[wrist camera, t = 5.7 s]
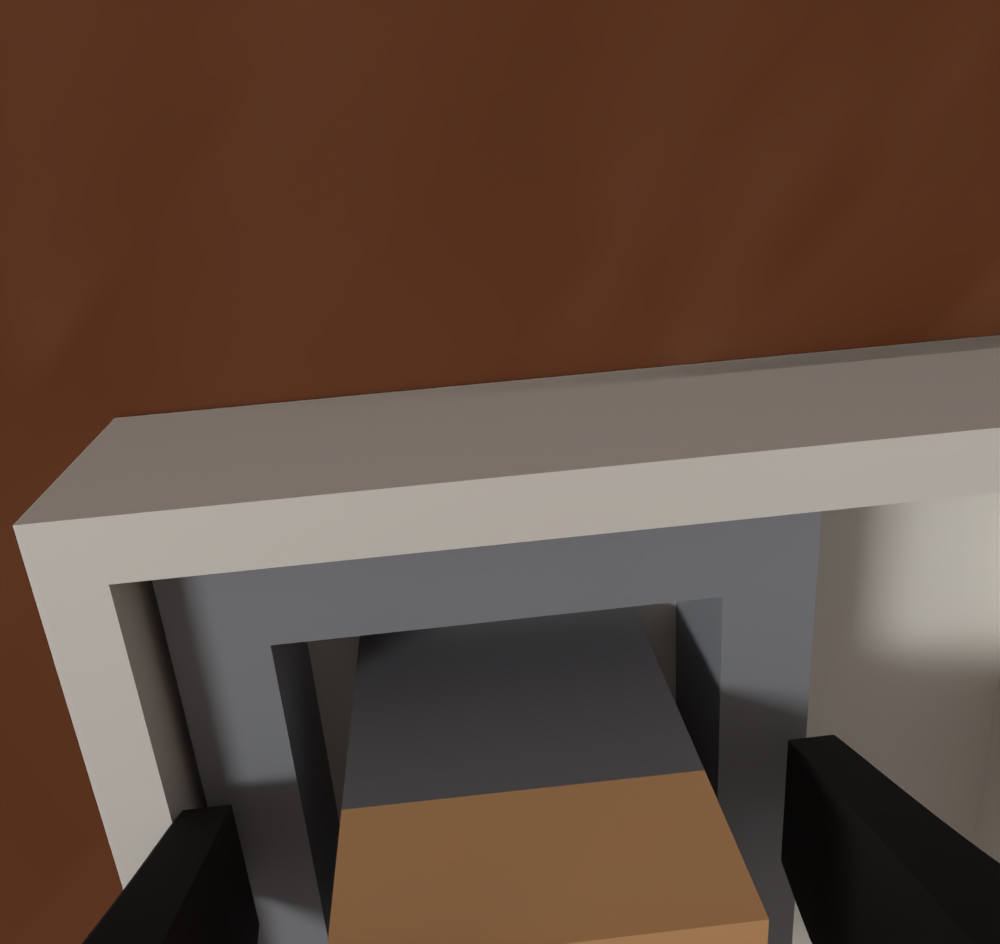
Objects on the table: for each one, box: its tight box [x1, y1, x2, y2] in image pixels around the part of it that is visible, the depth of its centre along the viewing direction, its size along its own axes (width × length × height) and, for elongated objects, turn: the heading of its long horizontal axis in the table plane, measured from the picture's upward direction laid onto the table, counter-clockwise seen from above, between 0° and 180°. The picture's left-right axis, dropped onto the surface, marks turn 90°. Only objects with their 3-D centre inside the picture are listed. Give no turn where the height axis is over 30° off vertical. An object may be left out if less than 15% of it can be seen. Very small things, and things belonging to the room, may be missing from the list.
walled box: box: [13, 335, 1000, 944], centre depth 14 cm, size 14×12×4 cm
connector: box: [328, 606, 769, 944], centre depth 12 cm, size 4×4×6 cm
